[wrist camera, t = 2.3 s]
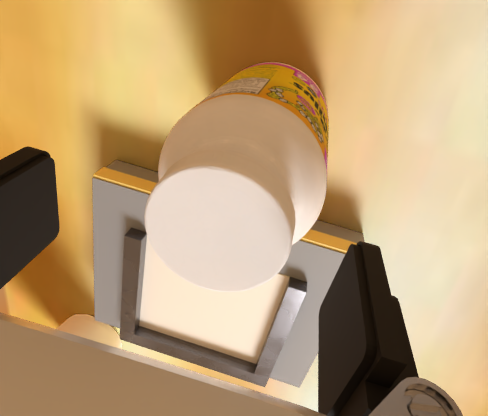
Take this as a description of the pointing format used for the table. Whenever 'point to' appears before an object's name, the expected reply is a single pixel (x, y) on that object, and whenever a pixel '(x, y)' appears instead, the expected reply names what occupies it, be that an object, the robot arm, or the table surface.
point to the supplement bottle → (241, 179)
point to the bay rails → (191, 351)
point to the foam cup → (91, 330)
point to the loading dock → (204, 300)
